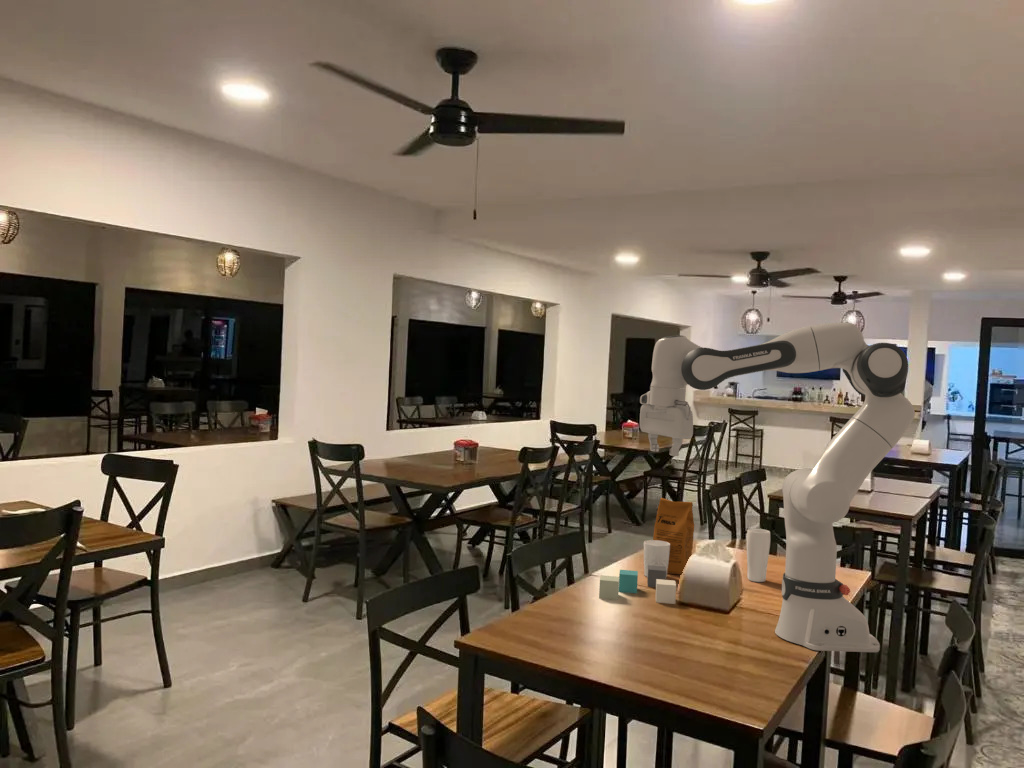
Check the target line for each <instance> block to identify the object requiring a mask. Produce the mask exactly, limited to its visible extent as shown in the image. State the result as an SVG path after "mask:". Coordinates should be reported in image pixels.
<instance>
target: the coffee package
mask: <svg viewBox="0 0 1024 768" xmlns="http://www.w3.org/2000/svg"><path fill="white" fill-rule="evenodd" d="M693 506H694V504H693V501H673V500H670V499H667V498H664V497H660V500H659V504H658V506H657V512H656V517H655V523H654V526H653V527H654V528H653V538H652V540H659V541H665V542H668V543H670V554H669V564H668V569H667V574H670V575H671V574H672V575H681V576H683V575H682V573H683V572H682V571H683V569H684V567H685V565H686V563H687V561H688V559H689V557H690V556H691V555H692V556H693V548H694V547H693V545H694V532H695V521H694V512H693Z"/></svg>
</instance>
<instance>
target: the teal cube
mask: <svg viewBox="0 0 1024 768" xmlns="http://www.w3.org/2000/svg"><path fill="white" fill-rule="evenodd" d="M638 572H639V571H638V570H628V569H619V576H618V577H619V592H618V593H627V594H628V593H630V594H638V579H639V578H638V577H639V573H638Z"/></svg>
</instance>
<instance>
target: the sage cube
mask: <svg viewBox="0 0 1024 768" xmlns="http://www.w3.org/2000/svg"><path fill="white" fill-rule="evenodd" d="M598 591H599V593H598V599H603V600H613V601H619V593H620V592H619V576H614V575H603V574H601V575H600V578H599V589H598Z"/></svg>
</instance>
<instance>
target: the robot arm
mask: <svg viewBox="0 0 1024 768" xmlns="http://www.w3.org/2000/svg"><path fill="white" fill-rule="evenodd" d="M829 369H841V370H842V373H843V374H844V375H845V378H846V379H847V380H848V383H849V384H850V386H851V387H852V388H853V390H854V391H855V392H857V393H858V394H859V395H861V396H863V397H865V398H864V401H863V404H862V405H861V407H860V408H859V409H858V410H857V411H856V412H855V414H853V415H852V417H851V418H849V420H848V421H847V422H846V423H845V424H844V425H843V426H842V428H840V430H838V432H837V433H835V435H834V436H833V437H832V438H831V439H830V440H829V441H828V444H827V445H826V448H825V451H824V452H823V454H822V456H821V457H820V458H819V460H818V461H817V463H816V465H815V466H814V468H800V469H796V470H793V471H791V472H790V473H789V474H787V476H785V478H784V480H783V482H782V485H781V486H782V488H781V490H782V496H783V499H782V500H783V514H784V515H783V517H784V528H785V537H786V538H785V540H786V541H785V542H786V544H785V545H786V548H785V568H784V569H785V570H784V572H783V574H782V580H781V596H782V603H781V608H780V614H779V617H778V622H777V623H776V627H775V630H774V632H775V634H776V636H778V637H780V638H781V639H783V640H785V641H787V642H790V643H792V644H793V643H794V644H797V645H801V646H803V647H806V648H807V649H810V650H812V651H818V652H819V651H821V652H822V651H823V652H825V651H826V652H848V653H849V652H853V653H855V652H857V653H879V651H880V650H881V649H880V648H881V645H880V642H879V640H878V639H877V638H876V637H875V636H873V634H871V633H870V628H869V627H870V626H869V624H868V621H867V618H866V616H865V615H864V614H863V613H862V612H861V611H860V610H859V609H858V608H857V607H856V606H855V605H854V604H852V603H851V602H850V601H849V600H848V599H847V598H845V597H844V596H849V594H850V593H851V588H850V587H849V586H848V585H847V584H843V582H841V581H839V580H838V579H836V578H837V577H836V576H837V575H836V574H837V572H836V570H837V554H838V553H837V552H838V547H837V546H838V545H837V541H836V537H835V532H834V526H833V525H834V524H833V523H837V522H839V521H841V520H843V519H844V517H845V516H846V515H847V514H848V513H849V510H850V507H851V503H852V501H853V499H854V498H855V496H856V494H858V492H859V489H860V488H861V486H862V485H863V483H864V481H865V480H866V478H868V476H869V475H870V474H871V472H872V471H873V470H874V469H875V468H876V467H877V466H878V464H879V463H880V462H881V461H882V460H883V459H884V458H885V457H886V456H887V455H888V454H889V452H890V451H892V449H893V448H894V447H895V446H896V445H897V444H898V442H899V441H900V440H901V439H902V437H903V436H904V435H905V433H906V432H907V430H908V429H909V428H910V426H911V424H912V423H913V421H914V420H915V419H914V418H915V416H916V413H915V408H914V405H913V404H912V403H911V401H910V400H909V399H908V398H907V397H905V396H904V395H903V394H902V393H903V392H904V391H905V389H906V384H907V378H908V374H909V360H908V358H907V354H906V353H905V352H904V351H903V349H902V348H900V347H899V346H897V345H895V344H893V343H889V342H877V343H873V344H870V345H868V343H866V342H865V339H864V335H863V333H862V331H861V329H860V328H859V327H858V326H857V325H856V324H855V323H851V322H829V323H820V324H814V325H807V326H803V327H800V328H797V329H793V330H789V331H788V332H785V333H783V334H781V335H778V336H776V337H775V338H773V339H771V340H768V341H766V342H764V343H760V344H756V345H750V346H745V347H741V348H736V349H727V350H719V349H714V348H710V347H703V346H701V345H698V344H696V343H694V342H693V341H691V340H690V339H688V337H687V336H685V335H682V334H681V335H670V336H669V335H668V336H664V337H661V338H660V339H658V340H657V341H656V342H655V345H654V347H653V352H652V361H651V372H652V379H651V383H650V386H649V391H647V392H646V393H644V394H642V395H641V396H640V397H639V403H640V404H641V406H640V408H639V409H640V411H639V412H640V413H639V428H640V431H641V432H642V433H647V434H648V435H647V437H648V441H649V450H650V451H651V452H653V453H654V452H659V451H660V445H659V444H658V438H659V436H663V437H668V438H671V439H672V440H671V442H672V446H671V448H669V453H668V454H669V455H670V456H672V457H678V456H679V455H680V453H679V452H680V450H681V449H680V448H681V447H682V444H683V442H684V440H691V439H692V437H693V435H694V416H693V411H692V407H691V406H690V404H689V401H686V395H687V394H686V392H687V391H686V390H687V386H690V388H692V389H695V390H699V391H700V390H701V391H706V390H711V389H713V388H715V387H717V386H718V385H720V384H721V383H723V382H724V381H725V380H728V379H730V378H735V377H737V376H743V375H748V374H754V373H760V372H765V371H767V372H769V371H776V372H781V373H787V374H806V373H812V372H813V373H814V372H818V371H824V370H829Z"/></svg>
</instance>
